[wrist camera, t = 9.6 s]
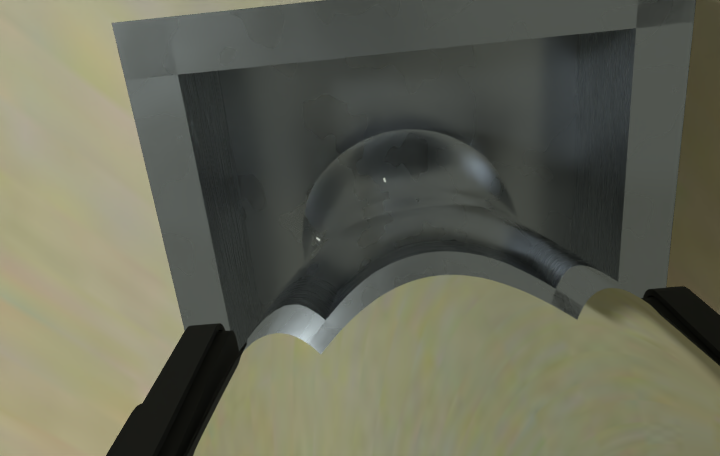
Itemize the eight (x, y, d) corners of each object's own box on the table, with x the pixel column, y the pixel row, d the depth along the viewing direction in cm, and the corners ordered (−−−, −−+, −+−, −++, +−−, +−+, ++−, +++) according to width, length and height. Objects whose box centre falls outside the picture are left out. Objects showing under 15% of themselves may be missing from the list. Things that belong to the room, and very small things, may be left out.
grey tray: (173, 22, 16) (111, 23, 12) (618, -25, 15) (700, -40, 11) (246, 387, 20) (218, 471, 16) (595, 362, 19) (650, 443, 16)
